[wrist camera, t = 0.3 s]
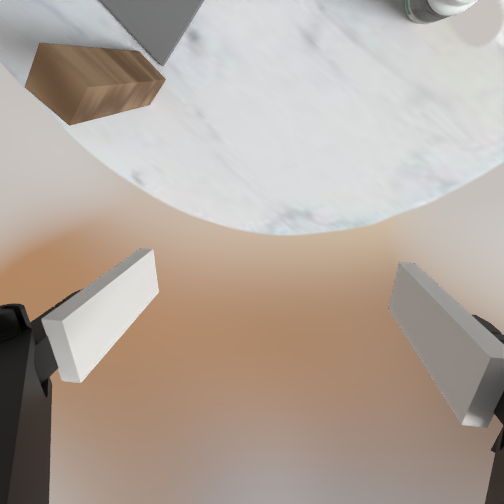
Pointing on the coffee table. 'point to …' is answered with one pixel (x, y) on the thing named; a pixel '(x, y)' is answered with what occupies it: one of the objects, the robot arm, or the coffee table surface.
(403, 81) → the coffee table surface
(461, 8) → the pill bottle
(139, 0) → the plate
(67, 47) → the tall wooden pillar
